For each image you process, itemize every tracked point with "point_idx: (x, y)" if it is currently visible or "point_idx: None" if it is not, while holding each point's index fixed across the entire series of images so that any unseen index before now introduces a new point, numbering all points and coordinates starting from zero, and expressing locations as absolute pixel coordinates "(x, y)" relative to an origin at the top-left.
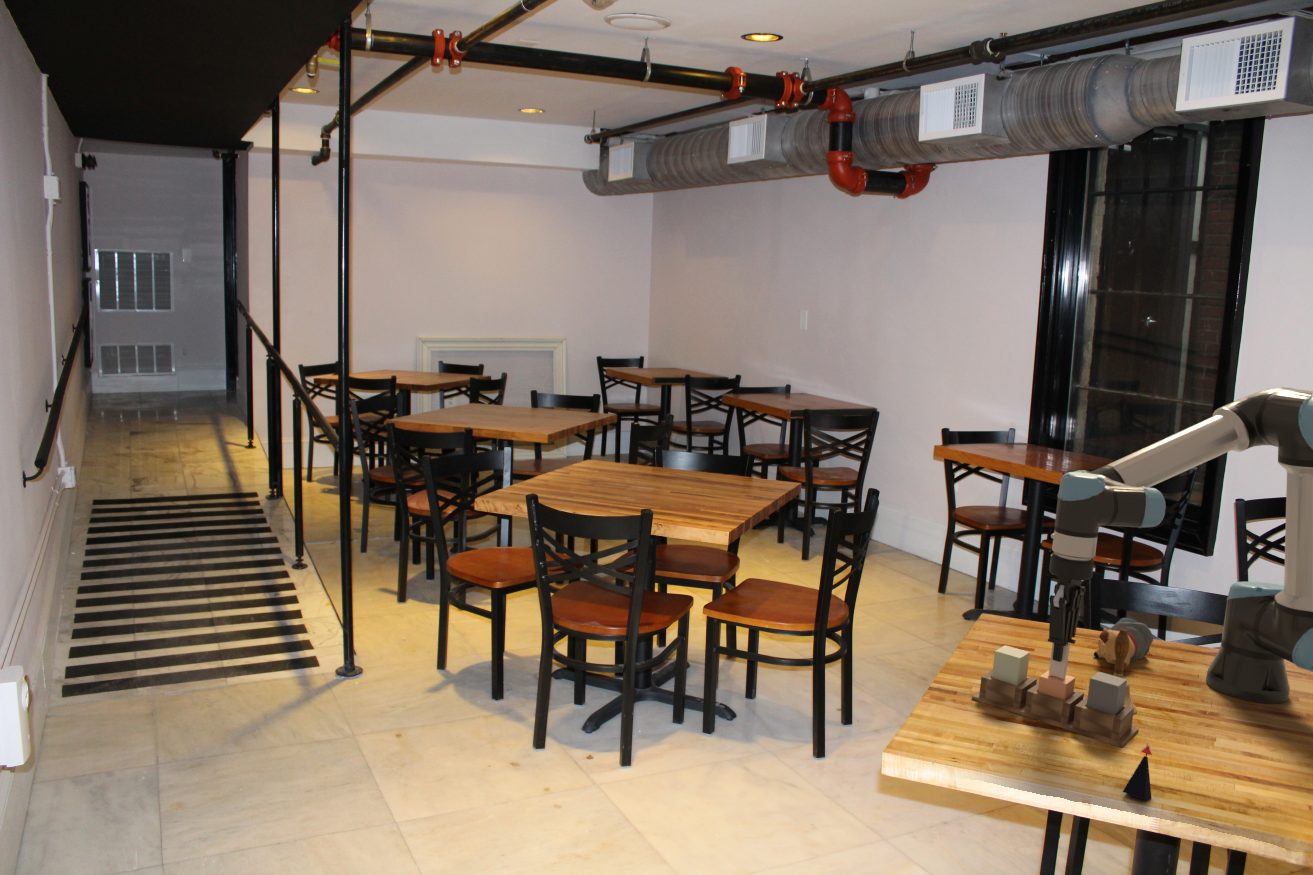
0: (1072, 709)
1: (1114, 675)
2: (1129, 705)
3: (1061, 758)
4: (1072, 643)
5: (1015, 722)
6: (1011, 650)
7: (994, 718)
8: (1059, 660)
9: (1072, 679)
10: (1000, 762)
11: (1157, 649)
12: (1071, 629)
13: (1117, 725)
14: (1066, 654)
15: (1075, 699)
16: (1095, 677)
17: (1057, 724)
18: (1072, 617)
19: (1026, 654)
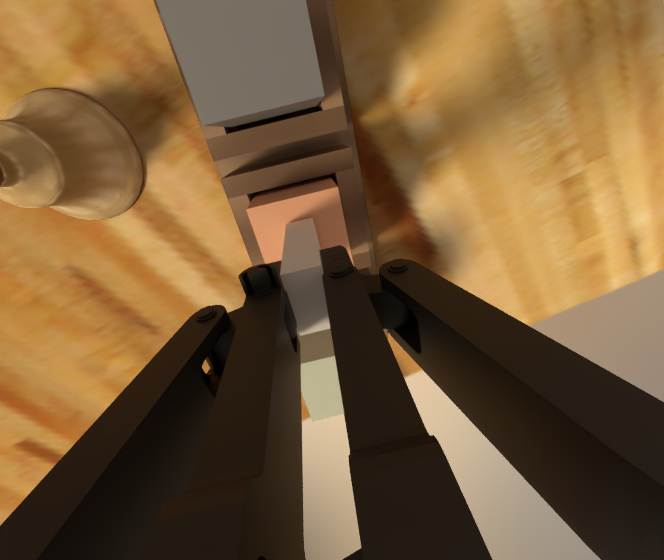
0: (316, 153)
1: (14, 176)
2: (46, 105)
3: (534, 31)
4: (270, 268)
5: (420, 224)
6: (335, 391)
7: (438, 258)
8: (343, 248)
9: (274, 202)
10: (650, 110)
11: None
12: (267, 325)
13: None
14: (313, 248)
15: (299, 159)
16: (291, 85)
17: (358, 161)
18: (273, 391)
19: (320, 358)
